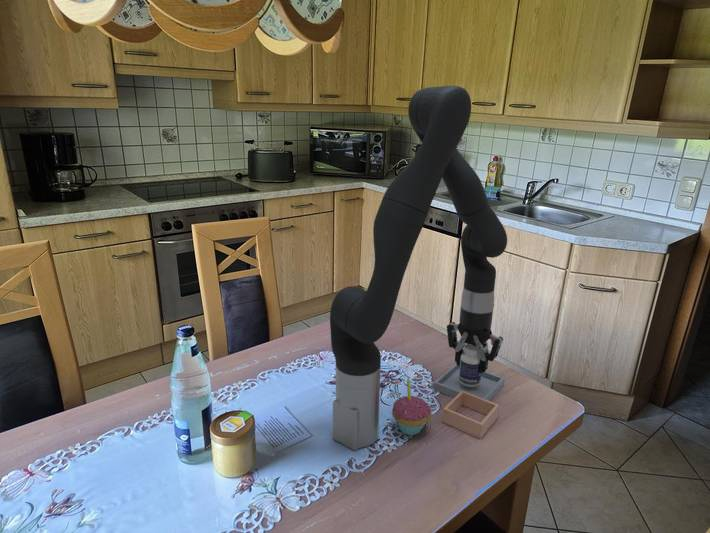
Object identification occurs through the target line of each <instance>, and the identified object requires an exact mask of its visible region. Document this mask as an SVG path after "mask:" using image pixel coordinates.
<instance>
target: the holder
mask: <svg viewBox="0 0 710 533" xmlns="http://www.w3.org/2000/svg"><path fill="white" fill-rule="evenodd" d="M462 406H463V407H465V408H467V409H471V410H473V411H476V412H478V413H481V414H482V415H485V417H484V418H483V419H482V421H481V422H480V421H478V420H476V419H473V418H471V417H468V416H466V415H464V414H461V413H460V412H457V411H458V410H459V409H460V408H461V407H462ZM499 409H500V405H499V404H498V403H496V402H493V401H491V400H490V401H488V400H485V399H483V398H480V397H478V396H475V395H472V394H470V393H467V392H465V391H461V392H460V393H459V394H458V395H457V396H456V397H455V398H452V399H451V400H450V402H448V404H447V405H445V406H444V407H443V411H442V423H444V424H447V425H449V426H450V427H454V428H456V430H457V429H458V430H460V431H462V432H464V433H465V434H466V433H467V434H468V435H471V436H473V437H475V438H478V439H480V440H481V439H482V438H483V437H484V436H485V434H486V433H487V432H488V430H489V429H490V428H491V427H492V425H493V424H494V423H495V422H496V421H497V419H498V416H499Z"/></svg>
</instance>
